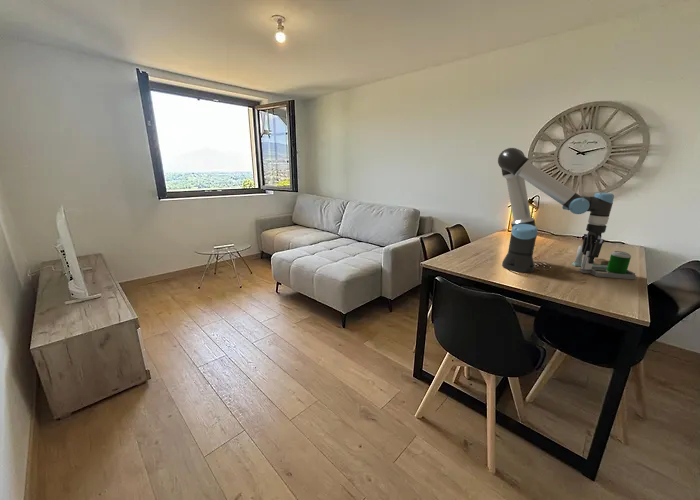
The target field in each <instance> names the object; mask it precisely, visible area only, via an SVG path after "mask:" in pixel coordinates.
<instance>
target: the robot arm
mask: <svg viewBox="0 0 700 500" xmlns="http://www.w3.org/2000/svg"><path fill="white" fill-rule="evenodd" d="M497 164H498V166H499V167H500V169H501V175H502V178H504V179H506V185H507V189H508V190H507V191H508V197H509V201H510V208H511V213H512V221H511V222H510V224H511V230H510V239H509V244H508V249H507V254H506V255H505V256H504V259H503V261H502V264H501V266H502V267H503V268H504V269H506V270H509V271H512V272H519V273H532V272H534V271H535V263H534V258H533V256H534V250H535V246H536V245H535V244H536V240H537V237H538V233H539V231H538V228H537V226H536V219H535V218H533V217H532V216H531V211H530V203H529V197H528V192H527V186H526V182H527V183H529V184H530V185H532V186H533V187H535V188H537V189H538V190H539V191H541V192H543V193H544V194H546V196H548V197H549V198H552V200H554V201H555V202H557V203H559V204H560V205H562V210H565V211H570V212H571V213H572V214H574V215H583V214H585V213H587V212H590V213H589V217H588V220H587V222H588V223H587V224H586V229H585V230H586V231H587V233H584V234H583V241H582V245H581V246H582V251H581V252H583V257H582V264H581V266H580V267H581V268H583V264H584V260H585V256H586V252H587V251H590V253H589V256H587V261H586V265H585V269H592V265H593V261H595V259H599V255H600V254H601V250H602V247H603V244H604V242H605V239H602V234H605V232H606V230H607V227H608V226H607V225H608V223H609V219H610V218H609V217H610V214H611V211H612V208H613V204H614V198H615V195H614V193H610V192H595V193H594V195H593V196H588V195H587V196H586V195H585V196H584V195H581V194H578V193H577V192H575V191H574V190H572V189H571V188H569V187H568V186H566V185H565V184H563V183H562V182H560V181H559V180H557V179H556V178H554V177H552V176H551V175H549V174H548V173H546V172H545V171H544V170H542V169H540V168H539V167H537V166H536V165H534V164H533V163H532V162H531V160H530V159H529V158H528V157H526V155H525V153H524V152H523V151H522V150H521V149H519V148H515V147H508V148H505V149H504V150H502V151H501V152H500V153H499V155H498V157H497Z"/></svg>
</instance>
